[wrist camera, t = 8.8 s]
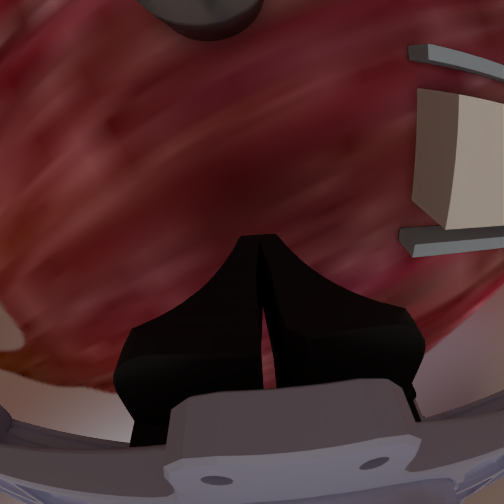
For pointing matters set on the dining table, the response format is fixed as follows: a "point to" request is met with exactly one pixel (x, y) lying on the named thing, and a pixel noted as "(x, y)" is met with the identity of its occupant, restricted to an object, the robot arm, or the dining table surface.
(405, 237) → the display stand
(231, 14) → the grey glossy ball
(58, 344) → the dining table surface
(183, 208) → the dining table surface
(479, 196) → the carton
